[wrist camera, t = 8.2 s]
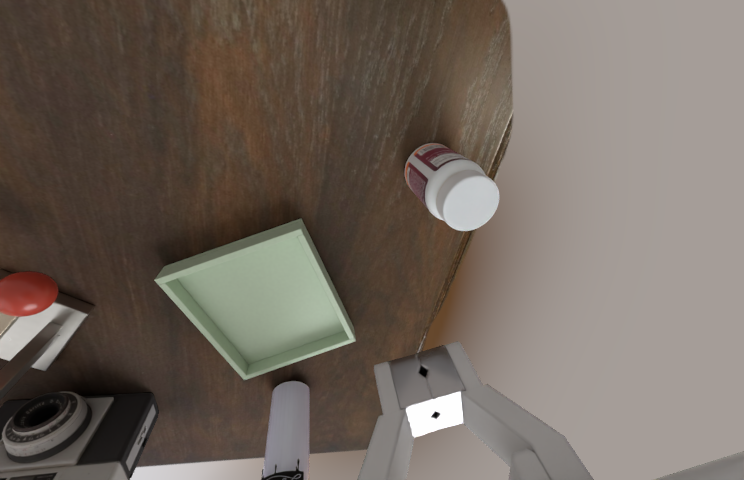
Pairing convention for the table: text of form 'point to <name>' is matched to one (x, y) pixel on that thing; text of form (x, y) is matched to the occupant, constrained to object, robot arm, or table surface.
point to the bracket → (39, 337)
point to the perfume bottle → (288, 433)
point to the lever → (24, 296)
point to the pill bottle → (451, 186)
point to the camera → (75, 436)
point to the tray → (261, 299)
